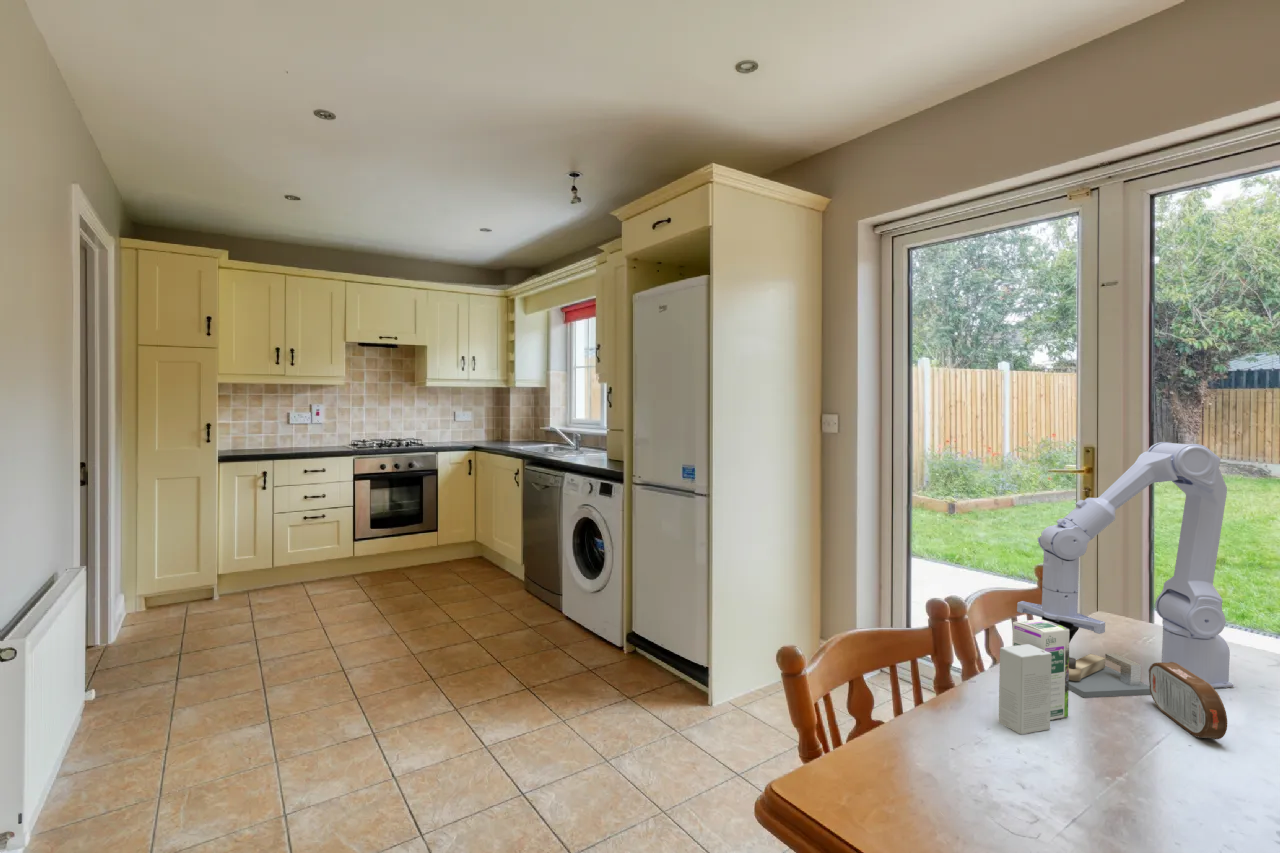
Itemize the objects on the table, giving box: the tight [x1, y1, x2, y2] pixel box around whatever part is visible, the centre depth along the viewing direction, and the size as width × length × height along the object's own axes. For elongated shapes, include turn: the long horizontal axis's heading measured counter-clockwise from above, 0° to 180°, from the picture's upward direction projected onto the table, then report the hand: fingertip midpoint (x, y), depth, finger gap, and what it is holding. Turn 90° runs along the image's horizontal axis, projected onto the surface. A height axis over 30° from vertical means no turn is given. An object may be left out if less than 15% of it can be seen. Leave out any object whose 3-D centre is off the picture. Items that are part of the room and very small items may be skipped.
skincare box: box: [998, 644, 1052, 735], centre depth 97 cm, size 6×4×12 cm
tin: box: [1148, 662, 1228, 740], centre depth 99 cm, size 15×3×8 cm, turn 168°
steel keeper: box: [1104, 653, 1142, 686], centre depth 113 cm, size 2×5×4 cm, turn 7°
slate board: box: [1068, 665, 1151, 699], centre depth 114 cm, size 14×11×1 cm
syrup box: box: [1011, 618, 1070, 721], centre depth 102 cm, size 6×6×14 cm
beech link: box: [1069, 653, 1106, 681], centre depth 115 cm, size 12×3×3 cm, turn 123°
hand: (1057, 659), depth 120 cm, fingers closed
